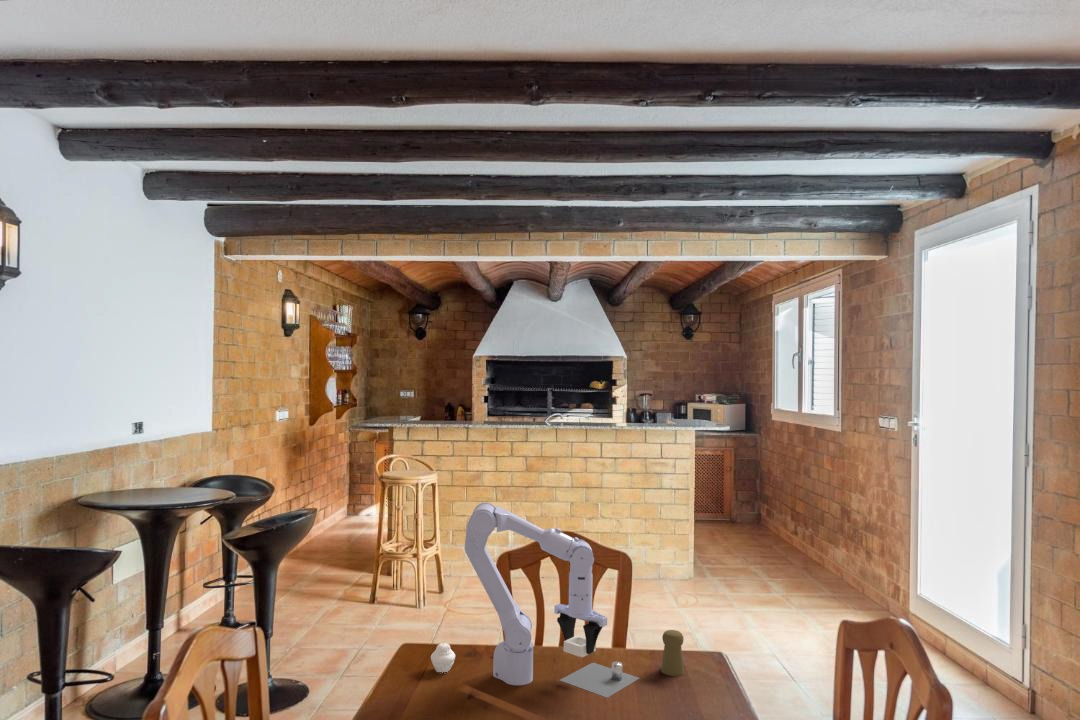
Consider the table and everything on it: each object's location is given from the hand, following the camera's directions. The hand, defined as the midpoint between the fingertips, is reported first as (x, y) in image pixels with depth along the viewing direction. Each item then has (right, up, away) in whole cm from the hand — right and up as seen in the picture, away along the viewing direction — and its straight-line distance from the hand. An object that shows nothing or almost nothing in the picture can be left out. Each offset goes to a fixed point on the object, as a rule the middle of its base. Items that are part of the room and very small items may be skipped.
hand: (579, 649), depth 171 cm
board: (+5, -9, 0) cm, 10 cm away
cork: (+24, -9, +6) cm, 26 cm away
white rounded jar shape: (-34, -8, +7) cm, 36 cm away
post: (+9, -7, +1) cm, 12 cm away
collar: (0, 0, 0) cm, 0 cm away
